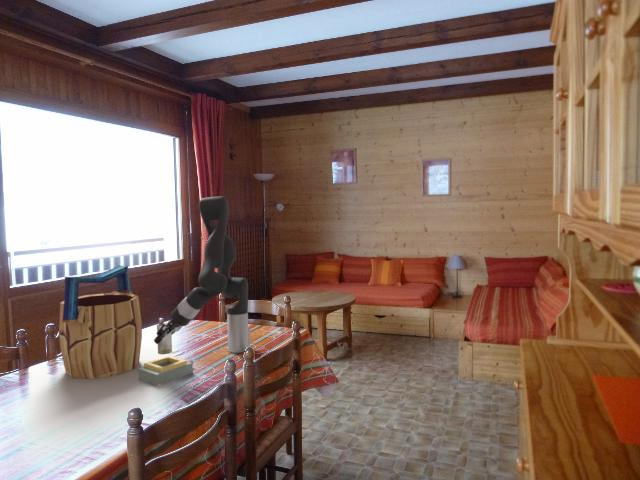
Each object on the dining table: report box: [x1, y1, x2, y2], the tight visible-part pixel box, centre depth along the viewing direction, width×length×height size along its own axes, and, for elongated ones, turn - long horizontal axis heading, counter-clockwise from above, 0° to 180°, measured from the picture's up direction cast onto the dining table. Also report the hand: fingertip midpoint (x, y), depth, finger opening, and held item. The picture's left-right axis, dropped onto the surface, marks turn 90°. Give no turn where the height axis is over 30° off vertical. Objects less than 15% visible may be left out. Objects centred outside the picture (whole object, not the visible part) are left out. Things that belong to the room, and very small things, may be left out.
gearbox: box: [137, 355, 194, 386], centre depth 183 cm, size 20×12×6 cm, turn 143°
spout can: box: [156, 317, 173, 355], centre depth 180 cm, size 5×5×13 cm
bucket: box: [58, 265, 143, 380], centre depth 191 cm, size 39×31×40 cm
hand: (160, 340), depth 181 cm, fingers closed on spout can, 5 cm apart
